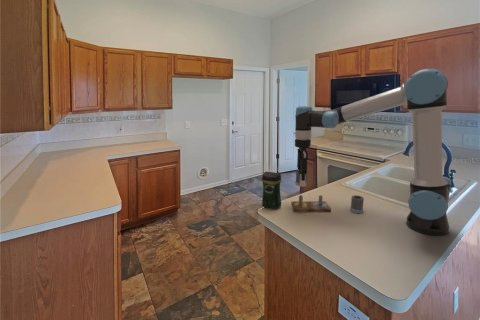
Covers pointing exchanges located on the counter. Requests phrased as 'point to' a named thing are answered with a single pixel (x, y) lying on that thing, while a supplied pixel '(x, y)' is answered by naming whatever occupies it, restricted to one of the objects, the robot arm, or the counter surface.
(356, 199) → the grey octagonal sleeve
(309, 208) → the pin board
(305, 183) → the sleeve ochre
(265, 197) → the coffee jar
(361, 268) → the counter surface
